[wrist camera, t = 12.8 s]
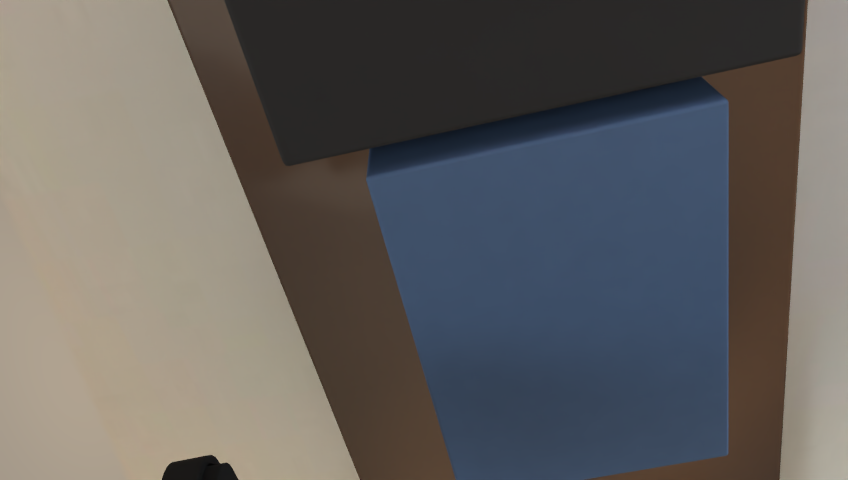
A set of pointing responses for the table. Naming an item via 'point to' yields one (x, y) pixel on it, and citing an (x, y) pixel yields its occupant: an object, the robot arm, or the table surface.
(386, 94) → the black rectangular block
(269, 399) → the table surface
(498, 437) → the blue rectangular block
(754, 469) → the board
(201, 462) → the robot arm
